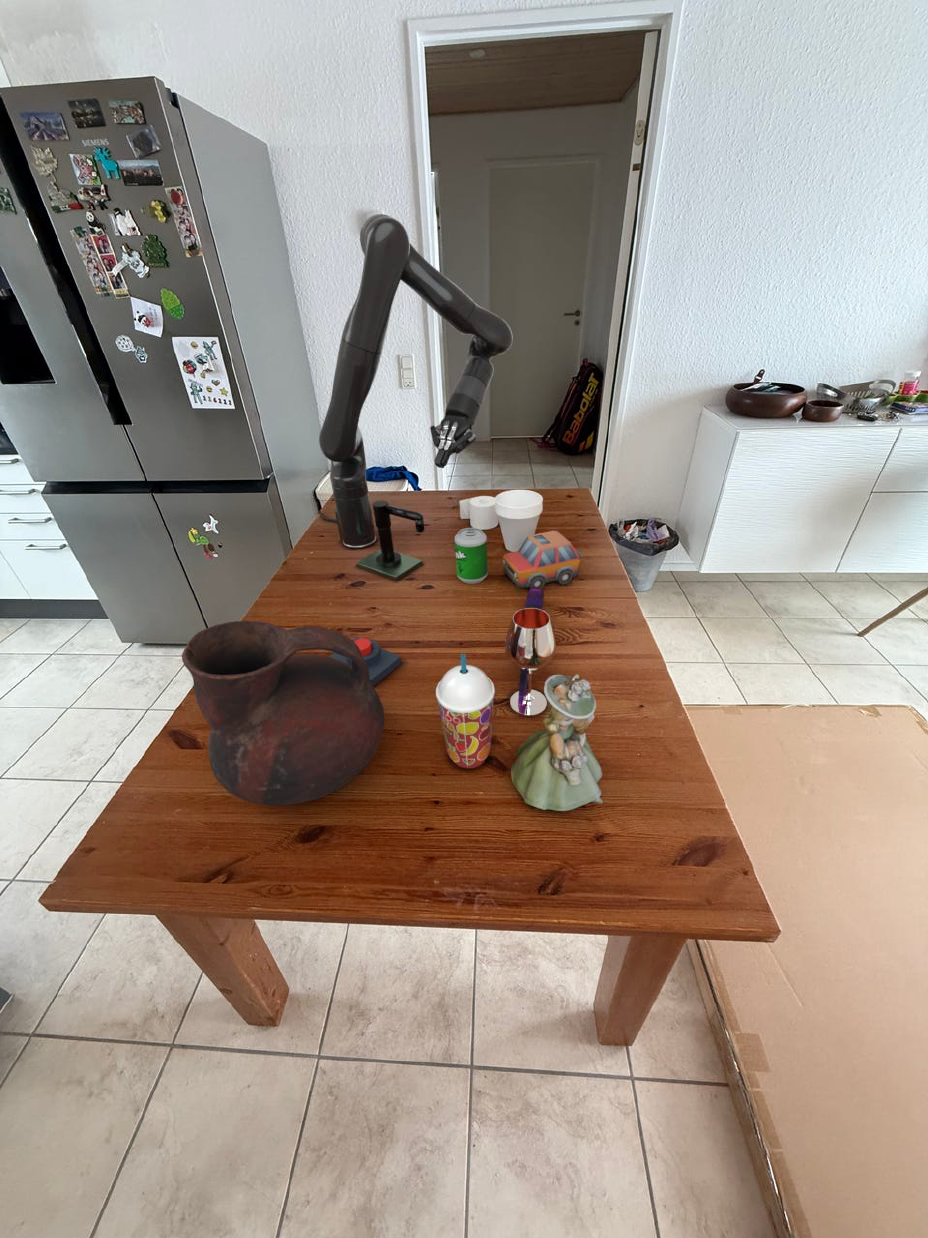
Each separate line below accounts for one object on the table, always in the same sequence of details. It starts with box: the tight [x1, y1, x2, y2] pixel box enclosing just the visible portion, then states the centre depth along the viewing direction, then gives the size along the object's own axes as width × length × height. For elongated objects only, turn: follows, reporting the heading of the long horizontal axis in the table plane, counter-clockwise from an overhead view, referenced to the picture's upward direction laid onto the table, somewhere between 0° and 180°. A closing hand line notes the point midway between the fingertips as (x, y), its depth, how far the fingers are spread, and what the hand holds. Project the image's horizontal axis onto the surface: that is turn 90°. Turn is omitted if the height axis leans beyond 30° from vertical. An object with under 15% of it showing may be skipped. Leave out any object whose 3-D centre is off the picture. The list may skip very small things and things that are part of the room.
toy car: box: [502, 530, 584, 590], centre depth 121 cm, size 12×17×10 cm
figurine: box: [510, 673, 604, 812], centre depth 69 cm, size 14×14×20 cm
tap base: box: [355, 526, 423, 582], centre depth 129 cm, size 14×10×11 cm
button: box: [354, 638, 372, 657], centre depth 97 cm, size 4×4×2 cm
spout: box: [372, 500, 425, 534], centre depth 121 cm, size 15×4×6 cm, turn 54°
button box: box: [328, 636, 402, 688], centre depth 99 cm, size 12×8×4 cm, turn 54°
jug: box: [181, 620, 385, 807], centre depth 73 cm, size 25×25×25 cm
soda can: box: [454, 527, 489, 585], centre depth 121 cm, size 8×8×12 cm
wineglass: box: [504, 607, 557, 717], centre depth 84 cm, size 8×8×18 cm
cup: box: [494, 489, 544, 553], centre depth 133 cm, size 12×12×14 cm
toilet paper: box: [459, 495, 499, 531], centre depth 148 cm, size 8×11×7 cm
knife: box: [518, 587, 545, 709], centre depth 98 cm, size 37×4×5 cm, turn 169°
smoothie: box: [435, 653, 496, 769], centre depth 74 cm, size 8×8×20 cm
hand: (438, 466), depth 122 cm, fingers closed
